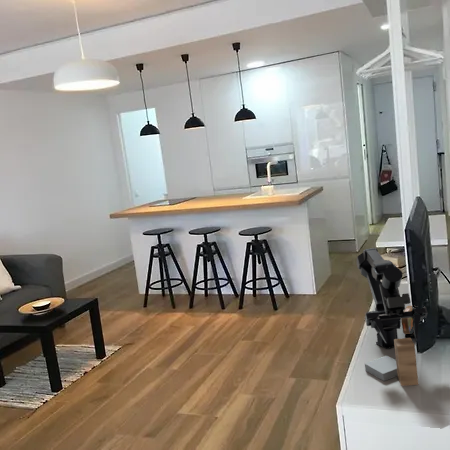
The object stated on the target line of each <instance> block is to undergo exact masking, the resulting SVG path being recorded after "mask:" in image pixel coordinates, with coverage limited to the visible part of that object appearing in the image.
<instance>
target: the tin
mask: <svg viewBox="0 0 450 450" xmlns="http://www.w3.org/2000/svg"><path fill="white" fill-rule="evenodd" d="M412 306H413V305H407V306H405V310H404V312H408V311H412ZM412 322H413V320H412V317H410V318H401V328H402V332H403V334H404V335H405V336H407V335H406V334H410V331H411V329H412V327H413V324H412Z"/></svg>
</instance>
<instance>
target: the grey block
mask: <svg viewBox="0 0 450 450" xmlns="http://www.w3.org/2000/svg"><path fill="white" fill-rule="evenodd" d="M364 370H365V371H366V372H367V373H369V374H371V375H372V376H374V377H376V378H377V379H379V380H381V381H383V382H386V381H387V380H390V379H393V378H396V377H398V374H397V365H396V358H393V357H390V356H389V355H384V356H382V357H379V358H375V359H372V360H371V361H368V362H364Z"/></svg>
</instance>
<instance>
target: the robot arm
mask: <svg viewBox="0 0 450 450" xmlns="http://www.w3.org/2000/svg"><path fill="white" fill-rule="evenodd" d="M356 266H357V269H358V271H359V272H360V274H361V275H362V276H363V277H364V278H365V279H366V280H367V283H368V286H369V288H370V291H371V292H370V293H371V295H372V299H373V300H374V305H375V308H374V310H373V311H366V313H365V325H366V327H370V328H371V329H374V330H375V331H376V332H377V333H376V340H377V341H375V345H378V346H379V347H382V348H384V349H386V350H389V349H392V348H395V345H394V339H399V337H398V329H399V330H400V329H401V328H402V323H401V318H410V317H412V320H413V322H412V324H413V330H414V333H413V335H414V340H415V341H418V339H419V326H420V323H419V322H420V321H422V322H424V321H423V318H424V317H425V318H426V319H427V317H428V314H429V313H428V310H427V307H426V306H424V307H423V308H422V309H416V308H414V307H413V308H412V311H408V312H404V310H405V309H406V305H410V304H411V297H410V294H409V293H403V294H402V295H401V294H400V289H399V287H400V286H401V282H402V278H403V271H402V270H401V269H400V268H399V267H397V265H395V264H394V263H393V262H392V261H391V260H389V259H384V258H383V257H382V255H381V254H380V252H379V250H378V248H376V247H371V248H365V249H363V251H362V253H360V254H358V255H357V257H356ZM414 313H416V314H420V315H414ZM422 314H424V315H422Z"/></svg>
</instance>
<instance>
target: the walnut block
mask: <svg viewBox="0 0 450 450" xmlns="http://www.w3.org/2000/svg"><path fill="white" fill-rule="evenodd" d="M394 345H395V347H394V352H395V360H396V365H397V374H398V376H397V380H398V382H399V383H400V386H401V387H403V386H405V387H406V386H407V387H408V386H418V385H419V377H418V376H419V375H418V366H417V357H416V347H415V346H416V345H415V342H413V340H412V338H411V337H405V338H398V339H394Z"/></svg>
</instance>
